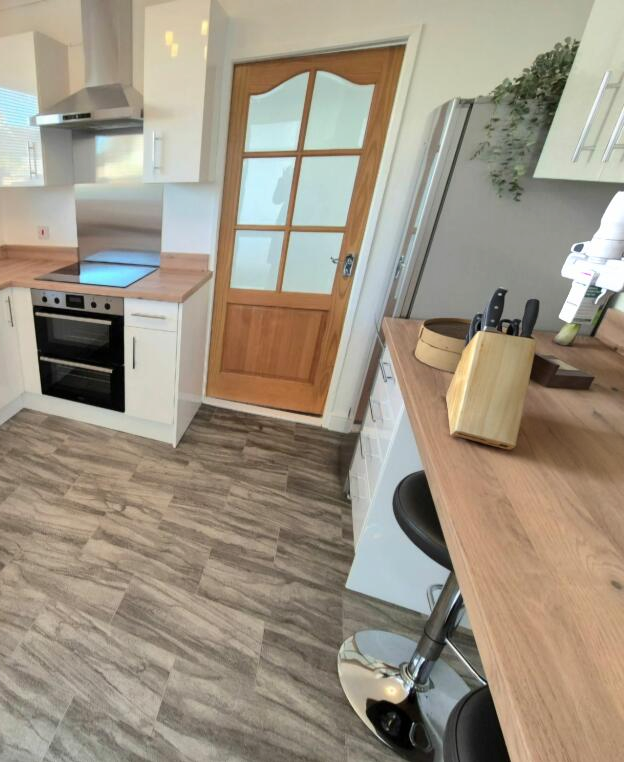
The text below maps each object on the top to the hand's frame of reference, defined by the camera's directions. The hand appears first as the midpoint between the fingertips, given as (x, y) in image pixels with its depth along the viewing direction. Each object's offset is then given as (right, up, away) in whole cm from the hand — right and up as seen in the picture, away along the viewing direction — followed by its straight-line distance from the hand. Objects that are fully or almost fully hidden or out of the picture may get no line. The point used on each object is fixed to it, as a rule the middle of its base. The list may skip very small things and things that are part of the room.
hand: (585, 300), depth 121 cm
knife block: (-41, -32, -10) cm, 53 cm away
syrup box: (0, -6, +3) cm, 6 cm away
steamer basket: (-20, -16, +21) cm, 33 cm away
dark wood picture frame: (-1, -21, +10) cm, 24 cm away
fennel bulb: (+29, -10, +34) cm, 46 cm away
